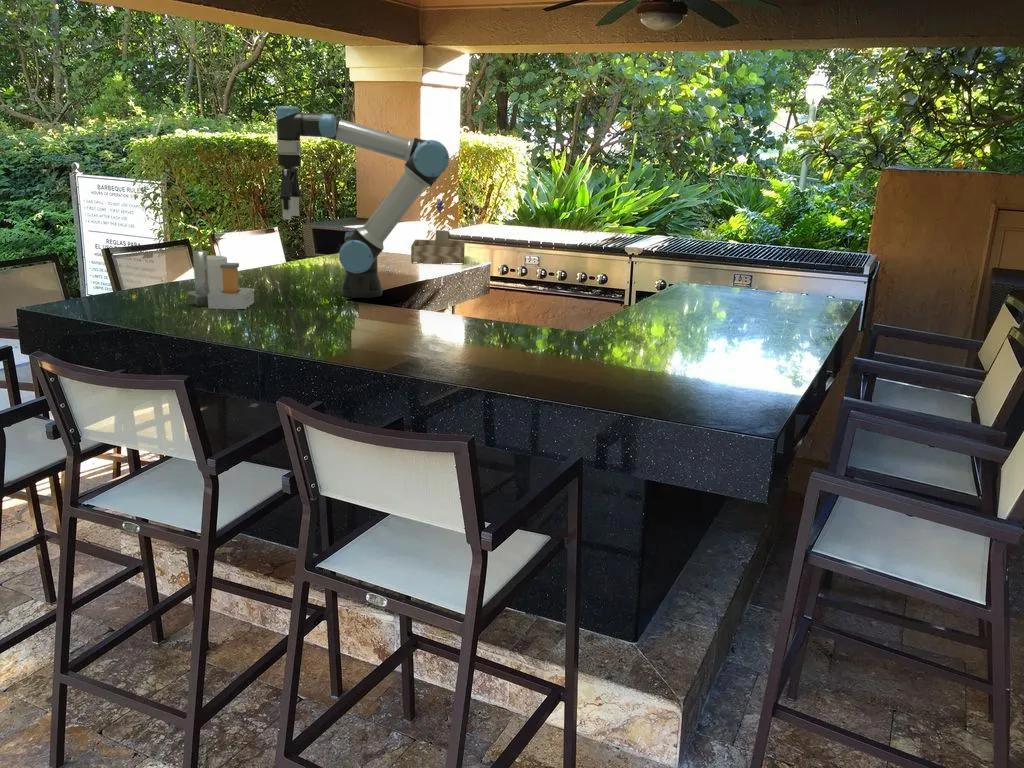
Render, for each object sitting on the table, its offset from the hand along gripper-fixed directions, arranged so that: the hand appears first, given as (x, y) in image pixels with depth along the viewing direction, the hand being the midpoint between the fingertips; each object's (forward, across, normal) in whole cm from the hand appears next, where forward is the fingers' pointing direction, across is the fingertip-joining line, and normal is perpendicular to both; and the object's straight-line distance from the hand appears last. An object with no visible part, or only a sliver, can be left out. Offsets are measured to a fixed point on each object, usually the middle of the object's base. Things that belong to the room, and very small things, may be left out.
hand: (291, 217), depth 295 cm
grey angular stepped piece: (+29, +8, -22) cm, 37 cm away
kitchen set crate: (+29, -112, +46) cm, 124 cm away
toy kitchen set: (+29, -113, +50) cm, 127 cm away
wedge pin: (+29, +14, -18) cm, 37 cm away
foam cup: (+29, -8, -30) cm, 42 cm away
